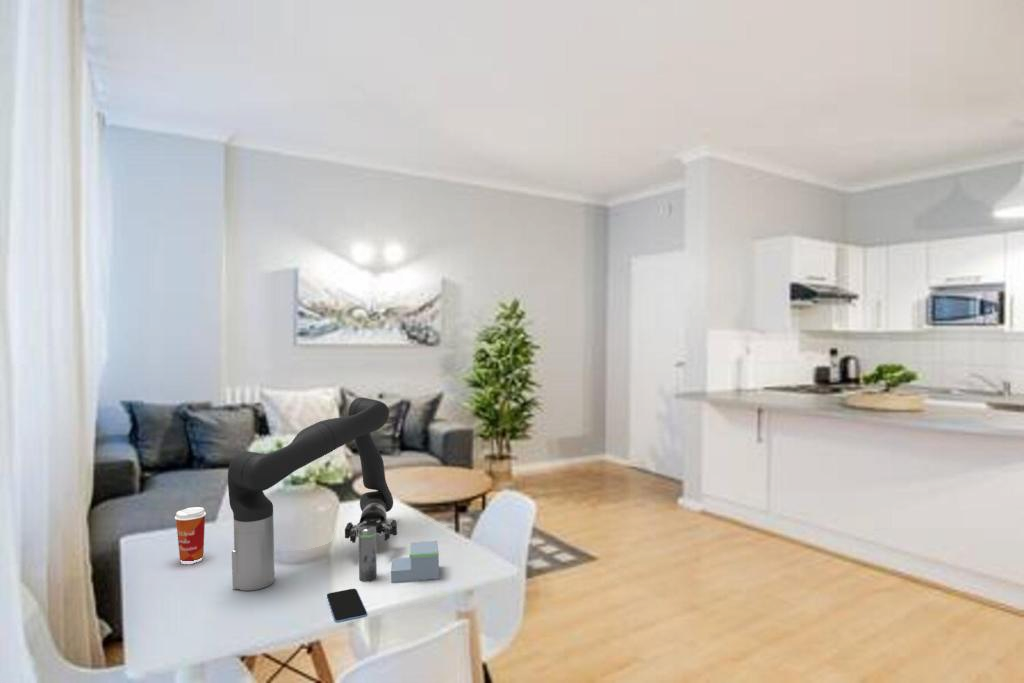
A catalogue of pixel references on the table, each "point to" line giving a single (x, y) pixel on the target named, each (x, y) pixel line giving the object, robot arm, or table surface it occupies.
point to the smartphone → (346, 605)
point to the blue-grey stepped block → (417, 563)
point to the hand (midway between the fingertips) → (369, 538)
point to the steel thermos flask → (367, 553)
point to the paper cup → (190, 533)
